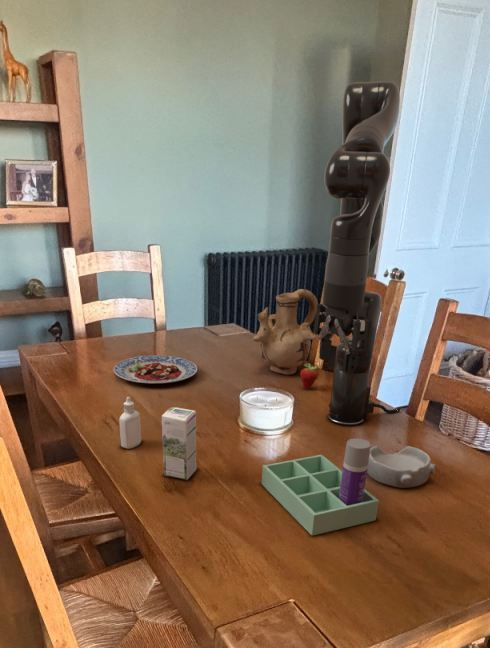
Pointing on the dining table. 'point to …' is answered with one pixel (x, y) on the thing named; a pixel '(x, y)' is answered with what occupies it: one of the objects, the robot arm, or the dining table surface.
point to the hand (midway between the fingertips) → (336, 365)
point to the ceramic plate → (155, 369)
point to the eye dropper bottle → (130, 426)
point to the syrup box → (179, 442)
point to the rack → (316, 494)
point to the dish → (400, 467)
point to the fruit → (308, 376)
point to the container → (354, 471)
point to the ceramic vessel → (286, 333)
